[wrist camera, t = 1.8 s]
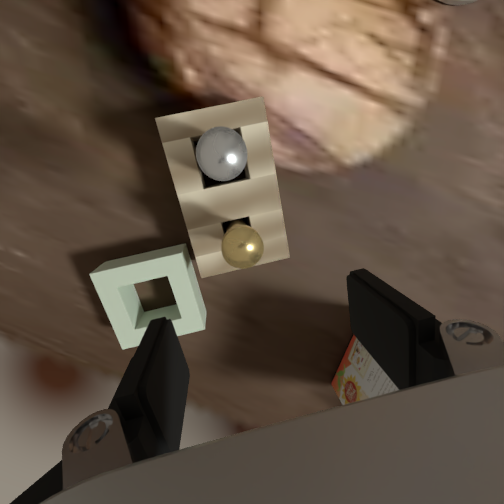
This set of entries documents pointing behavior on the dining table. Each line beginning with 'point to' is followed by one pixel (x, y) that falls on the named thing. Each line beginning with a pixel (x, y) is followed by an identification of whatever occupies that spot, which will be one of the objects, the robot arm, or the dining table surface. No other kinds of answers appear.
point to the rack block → (127, 301)
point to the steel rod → (221, 153)
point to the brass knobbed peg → (241, 245)
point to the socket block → (228, 193)
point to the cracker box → (360, 376)
